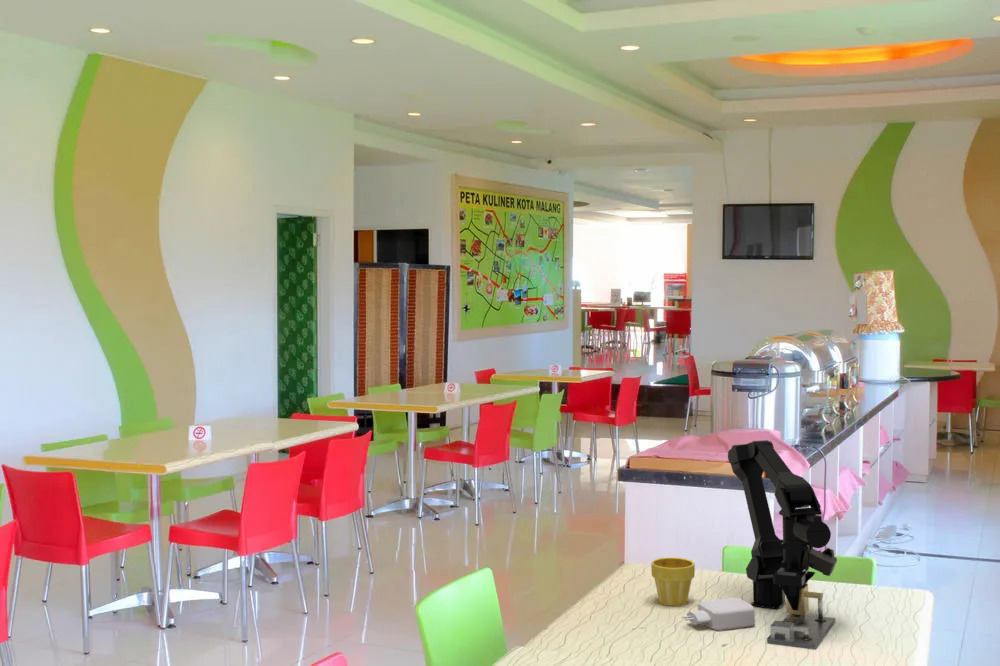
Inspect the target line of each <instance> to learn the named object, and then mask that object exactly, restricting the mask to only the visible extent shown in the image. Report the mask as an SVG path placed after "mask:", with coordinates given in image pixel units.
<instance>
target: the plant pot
mask: <svg viewBox="0 0 1000 666" xmlns="http://www.w3.org/2000/svg"><path fill="white" fill-rule="evenodd" d="M650 565H651V567H650V568H651V576H652V578H654V583H655V588H656V592H657V597H658V601H659V603H660V604H661V605H663V606H667V607H680V606H684V605H686V604H688V600H689V596H690V595H689V594H690V590H691V584H692V580H693V579H694V577H695V574H696V573H695V572H696V571H695V570H696V568H695V567H696V566H695V565H696V564H695V562H694V561H693V560H690V559H688V558H682V557H675V556H674V557H672V556H671V557H670V556H668V557H660V558H656V559H653V560H651V564H650Z"/></svg>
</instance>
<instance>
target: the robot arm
mask: <svg viewBox="0 0 1000 666" xmlns="http://www.w3.org/2000/svg"><path fill="white" fill-rule="evenodd" d="M727 460H728V462H729V464H730V466H731V470H732V473H733V474H734V475H735V476H736V477H737V478H738V479H739V480H740V481H741V482H742V487H743V492H744V496H745V499H746V500H745V501H746V504H747V509H748V513H749V517H750V522H751V527H752V531H753V536H754V543H753V545H752V548H751V551H750V555H751V558H750V561H749V562H748V564H747V566H746V568H745V571H746V577H747V578H748V579H749V580H751V581H752V587H753V588H752V589H753V590H752V591H753V592H752V593H753V601H752V603H751V604H750V605H752V606H753V607H761V608H769V609H770V608H771V609H780V608H781V607H782V606H783V605H784V604H785V603H786V597H787V599H788V601H789V603H790V605H791V608H792V610H796V611H797V610H798V606H799V600H800V593H801V588H802V587H803V586H804V585H805V584H808V582H809V580H811V579H812V578H813V577H814V575H816V572H817V571H818V572H819V573H821V574H822V575H823V576H824V575H825V576H827V577H830V576H831V574H833V572H834V570H835V567H836V564H837V561H838V559H837V557H836V556H835V552H834V551H835V550H834V549H833V548H830V547H827V548H825V549H824V550H823V551H822V550H820V549H822V548H824V547H825V546H827V545H828V544H829V542H830V540H831V534H832V533H831V530H830V527H829V526H828V525H827V523H825V522H823V518H822V517H823V516H822V511H821V508H822V507H821V504H820V502H819V500H818V498H817V496H816V493H815V490H814V488H813V486H812V485H811V484H810V482H808V480H806V479H805V478H804V477H802V476H800V475H797V474H795V473H793V471H791V469H790V468H789V466H788V465H787V464H786V463H785V461H784V460H783V458H782V457H781V456H780V455H779V453H778V452H777V450H775V448H774V444H773V442H772V441H771V440H768V439H767V440H752V441H749V442H747V443H744V444H743V443H742V444H733V445H732V447H731V448H729V450H728V452H727ZM763 474H766V476H767V477H768V479H769V480H770V482H771V483H772V484H773V486H774V488H775V490H774V497H775V499H776V502H777V503H778V505H779V507H780V510H779V511H778V514H779V515H780V516H781V517H782V539H780V538H779V537H778V536H777V535H776V532H775V527H774V523H773V519H772V513H771V510H770V506H769V502H768V497H767V493H766V488H765V486H764V482H763V481H764V480H763ZM817 549H819V550H817ZM810 569H813V570H815V571H816V572H815V571H810Z"/></svg>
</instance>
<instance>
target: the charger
mask: <svg viewBox="0 0 1000 666" xmlns="http://www.w3.org/2000/svg"><path fill="white" fill-rule="evenodd" d="M755 612H756V611H755V608H754V606H752V605H751V604H750V603H748V602H746V601H744V600H742V599H741V598H739V597H729V598H721V599H720V598H719V599H712V600H702V601H699V603H698V605H697V610H693V611H689V612H687V614H686V615H685V616H681V618H682V619H684V620H685V621H686V622H687V621H689V622H690V623H692V624H693V625H701V624H702V625H705V626H707V627H709V628H710V629H712V630H714V631H718V632H719V631H726V630H735V629H742V628H752V627H754V626H756V619H755V616H756V615H755Z"/></svg>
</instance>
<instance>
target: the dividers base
mask: <svg viewBox="0 0 1000 666" xmlns="http://www.w3.org/2000/svg"><path fill="white" fill-rule="evenodd" d="M835 624H836V617H831V616H823V620H819V619H818V615H812V614H805V615H796V614H788V613H787V615H786V616H785V618H784V619H782V620H776V619H775V620H774V621H773V622H772V623H771V624H770V629H769V630H770V635H769V636H768V637H767V638H766V644H771V645H778V646H779V645H780V646H786V647H792V648H793V647H795V648H803V649H809V650H816V649H818V646H819V645H820V644H821V643H822V641H823V639H824V638H825V637H826V635H827V634H828V633H829V632H830V630H831V629H832V627H833V626H834V625H835Z"/></svg>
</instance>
